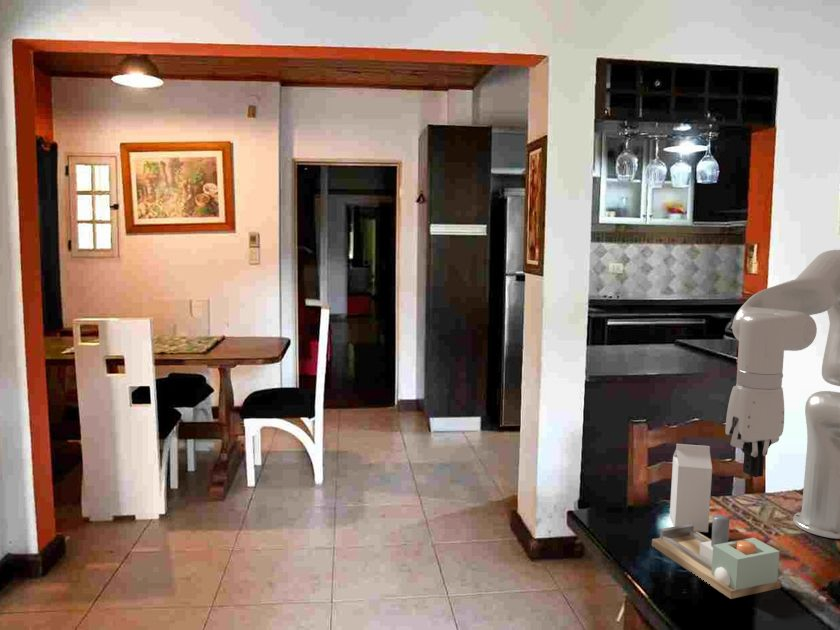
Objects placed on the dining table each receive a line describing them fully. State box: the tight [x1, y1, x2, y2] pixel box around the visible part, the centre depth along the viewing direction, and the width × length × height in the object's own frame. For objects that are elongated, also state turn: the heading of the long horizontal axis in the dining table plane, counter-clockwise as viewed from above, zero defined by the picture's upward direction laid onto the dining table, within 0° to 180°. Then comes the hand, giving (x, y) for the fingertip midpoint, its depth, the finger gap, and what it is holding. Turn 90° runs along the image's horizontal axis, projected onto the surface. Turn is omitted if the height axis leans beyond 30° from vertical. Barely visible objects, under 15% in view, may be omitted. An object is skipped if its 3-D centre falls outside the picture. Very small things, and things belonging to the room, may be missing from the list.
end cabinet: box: [711, 537, 780, 599], centre depth 126 cm, size 10×6×8 cm, turn 109°
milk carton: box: [669, 443, 713, 533], centre depth 152 cm, size 7×7×19 cm
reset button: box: [737, 541, 756, 555], centre depth 126 cm, size 3×3×3 cm
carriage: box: [699, 514, 731, 564], centre depth 132 cm, size 5×5×9 cm
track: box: [651, 524, 782, 600], centre depth 134 cm, size 12×22×4 cm, turn 19°
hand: (752, 474), depth 126 cm, fingers closed
